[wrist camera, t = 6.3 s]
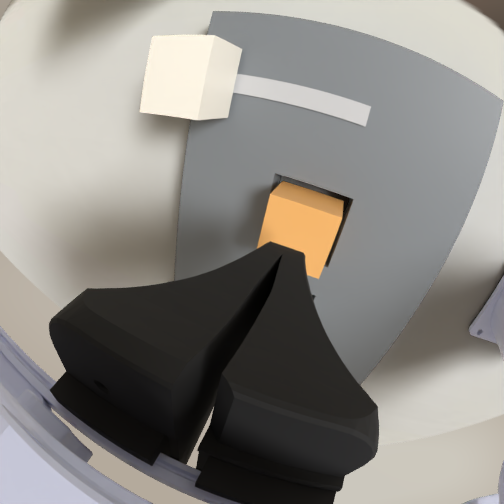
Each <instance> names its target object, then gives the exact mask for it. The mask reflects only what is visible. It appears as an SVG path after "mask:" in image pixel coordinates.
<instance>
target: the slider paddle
mask: <svg viewBox="0 0 504 504" xmlns="http://www.w3.org/2000/svg"><path fill="white" fill-rule="evenodd" d="M241 53H242V49H241V48H239V47H237V46H235V45H233V44H231V43H230V42H228V41H226V40H224V39H222V38H220V37H217V36H215V35H163V36H152V41H151V46H150V51H149V56H148V61H147V66H146V72H145V78H144V84H143V91H142V97H141V105H140V112H141V113H150V114H158V115H166V116H173V117H180V118H186V119H192V120H207V119H219V118H228V115H229V110H230V105H231V100H232V95H233V90H234V85H235V80H236V76H237V71H238V67H239V62H240V58H241Z"/></svg>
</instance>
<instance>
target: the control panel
mask: <svg viewBox="0 0 504 504" xmlns="http://www.w3.org/2000/svg"><path fill="white" fill-rule="evenodd" d="M207 35H215V36H217V37H220V38H222V39H224V40H226V41H228V42H230V43H231V44H233V45H235V46H237V47H239V48H241V49H242V53H241V58H240V62H239V67H238V71H237V76H236V80H235V85H234V90H233V95H232V100H231V105H230V110H229V115H228V118H219V119H207V120H192V119H191V120H190V126H189V133H188V140H187V147H186V154H185V162H184V170H183V178H182V187H181V197H180V207H179V218H178V230H177V243H176V259H175V278H174V281H177V280H181V279H186V278H190V277H194V276H197V275H200V274H203V273H207V272H209V271H212V270H215V269H217V268H220V267H222V266H224V265H226V264H229V263H231V262H233V261H235V260H237V259H239V258H241V257H243V256H245V255H247V254H249V253H250V252H252V251H254V250H256V249H257V246H258V242H259V237H260V233H261V229H262V225H263V221H264V217H265V213H266V209H267V205H268V201H269V196H270V194H271V193H272V192H273V190H274V189H275V188H276V187H277V186H278V185H279V183H280V179H281V175H282V176H286V177H289V178H292V179H295V180H299V181H302V182H305V183H308V184H311V185H314V186H317V187H320V188H323V189H326V190H329V191H332V192H335V193H338V194H340V195H343V196H346V197H349V198H350V200H349V202H348V205H347V208H346V211H345V214H344V216H343V219H342V222H341V225H340V227H339V230H338V233H337V235H336V238H335V241H334V243H333V246H332V249H331V251H330V252H329V255H328V257H327V260H326V262H325V265H324V267H323V270H322V272H321V275H320V277H319V279H317V278H314V277H311V276H309V275H307V278H308V282H309V286H310V291H311V294H312V298H313V301H314V304H315V307H316V310H317V313H318V315H319V318H320V320H321V323H322V325H323V327H324V329H325V332H326V334H327V336H328V338H329V340H330V341H331V343H332V345H333V347H334V348H335V350H336V352H337V353H338V355H339V357H340V358H341V360H342V362H343V363H344V364H345V366H346V367H347V369H348V370H349V372H350V373H351V374H352V376H353V377H354V379H355V380H356V381H357V382H358V384H359V385H360V384H361V383H362V382H363V381H364V380H365V379H366V377H367V376H368V375H369V374H370V373H371V371H372V370H373V369H374V368H375V366H376V365H377V364H378V363H379V361H380V360H381V359H382V358H383V356H384V355H385V354H386V352H387V351H388V350H389V348H390V347H391V346H392V344H393V343H394V342H395V340H396V339H397V338H398V336H399V335H400V333H401V332H402V331H403V329H404V328H405V326H406V325H407V323H408V322H409V320H410V319H411V317H412V316H413V314H414V313H415V311H416V310H417V308H418V307H419V305H420V304H421V302H422V301H423V299H424V297H425V296H426V294H427V292H428V291H429V289H430V287H431V286H432V284H433V282H434V281H435V279H436V277H437V275H438V274H439V272H440V270H441V268H442V266H443V265H444V263H445V261H446V259H447V257H448V255H449V253H450V251H451V249H452V247H453V245H454V243H455V241H456V239H457V237H458V235H459V233H460V231H461V229H462V227H463V225H464V222H465V220H466V218H467V216H468V213H469V211H470V209H471V206H472V204H473V201H474V199H475V196H476V194H477V191H478V189H479V186H480V183H481V180H482V178H483V175H484V172H485V169H486V166H487V163H488V160H489V157H490V153H491V150H492V147H493V143H494V140H495V136H496V132H497V128H498V124H499V120H500V116H501V111H502V106H503V100H501V99H500V98H498V97H497V96H495V95H494V94H493V93H491V92H489V91H488V90H486V89H485V88H483V87H482V86H480V85H478V84H477V83H475V82H473V81H472V80H470V79H468V78H467V77H465V76H463V75H461V74H460V73H458V72H456V71H454V70H452V69H450V68H448V67H446V66H444V65H442V64H440V63H438V62H436V61H434V60H432V59H430V58H428V57H426V56H423V55H421V54H419V53H417V52H414V51H412V50H409V49H407V48H405V47H402V46H399V45H397V44H394V43H391V42H389V41H386V40H383V39H380V38H377V37H374V36H371V35H368V34H365V33H361V32H358V31H354V30H351V29H347V28H343V27H339V26H335V25H331V24H326V23H322V22H317V21H312V20H306V19H301V18H294V17H288V16H280V15H272V14H262V13H250V12H230V11H213V13H212V17H211V21H210V25H209V29H208V33H207Z"/></svg>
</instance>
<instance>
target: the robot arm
mask: <svg viewBox="0 0 504 504" xmlns="http://www.w3.org/2000/svg"><path fill="white" fill-rule="evenodd" d="M305 257H306V256H305V254H304V253H303V252H300V251H297V250H294V249H292V248H289V247H286V246H283V245H280V244H277V243H274V242H271V241H270V242H268V243H266V244H264V245H262V246H261V247H259V248H257V249H256V250H254V251H252V252H250V253H249V254H247V255H245V256H243V257H241V258H239V259H237V260H235V261H233V262H231V263H229V264H226V265H224V266H222V267H220V268H217V269H215V270H212V271H209V272H207V273H203V274H200V275H197V276H194V277H190V278H186V279H181V280H177V281H172V282H168V283H163V284H157V285H150V286H141V287H131V288H105V289H86V290H85V291H84V292H82V293H81V294H80V295H79V296H77V297H76V298H75V299H74V300H73V301H72V302H70V303H69V304H68V305H67V306H66V307H64V308H63V309H62V310H61V311H60V312H59V313H58V314H56V315H55V316H54V317H53V318H52V319H51V321H50V323H49V331H50V336H51V339H52V342H53V344H54V347H55V349H56V351H57V353H58V355H59V357H60V359H61V361H62V363H63V365H64V367H65V369H66V372H65V373H64V375H63V376H62V377H61V378H60V379H59V380H58V381H57V382H56V381H54V380H53V379H52V378H51V377H50V376H49V375H47V374H46V372H44V371H43V370H42V369H41V368H40V367H39V366H38V365H37V364H36V363H35V362H34V361H33V360H32V359H31V358H30V357H29V356H27V355H26V353H25V352H24V351H23V350H22V349H21V348H20V347H19V346H18V345H17V344H16V343H15V342H14V341H13V340H12V339H11V338H10V336H9V335H8V334H7V333H6V332H5V331H4V330H3V328H1V326H0V504H153V503H151V502H149V501H147V500H145V499H143V498H141V497H140V496H138V495H136V494H134V493H132V492H131V491H129V490H127V489H125V488H124V487H122V486H121V485H119V484H117V483H116V482H114V481H112V480H111V479H110V478H108V477H106V476H105V475H103V474H102V473H100V472H99V471H97V470H96V469H95V468H93V467H92V466H90V465H89V464H88V463H87V462H88V460H89V459H90V458H91V456H92V455H93V454H92V452H91V451H90V450H89V449H88V448H87V447H86V446H84V445H83V444H82V443H81V442H80V441H79V440H78V439H77V437H76V436H75V435H74V434H73V433H72V432H71V430H70V429H69V428H68V427H67V426H66V425H65V424H64V423H63V422H62V421H61V420H60V419H59V418H58V417H57V416H56V415H54V414H53V413H52V411H51V408H52V409H53V410H54V411H56V412H57V413H58V414H59V415H60V416H61V417H63V418H64V419H65V420H66V421H68V422H69V423H70V424H71V425H72V426H74V427H75V428H76V429H77V430H79V431H80V432H81V433H83V434H84V435H85V436H87V437H88V438H89V439H91V440H92V441H94V442H95V443H96V444H98V445H99V446H101V447H102V448H104V449H105V450H107V451H108V452H110V453H111V454H113V455H114V456H116V457H117V458H119V459H121V460H122V461H124V462H125V463H127V464H129V465H130V466H132V467H134V468H135V469H137V470H139V471H141V472H143V473H144V474H146V475H148V476H150V477H152V478H154V479H155V480H157V481H159V482H161V483H163V484H165V485H167V486H170V487H172V488H174V489H176V490H178V491H180V492H182V493H185V494H187V495H189V496H192V497H194V498H197V499H199V500H202V501H204V502H207V503H209V504H333V502H334V497H335V494H336V491H337V492H338V491H340V490H341V489H342V486H343V481H344V476H345V475H347V474H349V473H351V472H353V471H354V470H356V469H358V468H360V467H362V466H363V465H365V464H366V463H368V462H369V461H370V460H371V459H373V458H374V457H375V455H376V452H377V449H378V439H379V420H378V407H377V405H376V404H375V403H374V401H373V400H372V399H371V398H370V397H369V395H368V394H367V393H366V392H365V391H364V390H363V388H362V387H361V386H360V385H359V384H358V382H357V381H356V380H355V379H354V377H353V376H352V374H351V373H350V372H349V370H348V369H347V367H346V366H345V364H344V363H343V362H342V360H341V358H340V357H339V355H338V353H337V352H336V350H335V348H334V347H333V345H332V343H331V341H330V340H329V338H328V336H327V334H326V332H325V329H324V327H323V325H322V323H321V320H320V318H319V315H318V313H317V310H316V307H315V304H314V301H313V298H312V294H311V291H310V286H309V282H308V278H307V272H306V264H305ZM479 330H480V331H479ZM469 332H470V335H472V336H475V337H478V338H481V339H484V340H487V341H490V342H493V343H496V344H498V347H499V349H500V352H501V355H502V357H503V360H504V275H503V277H502V279H501V280H500V282H499V284H498V285H497V287H496V289H495V290H494V292H493V293H492V295H491V297H490V298H489V300H488V301H487V303H486V304H485V306H484V307H483V309H482V310H481V312H480V313H479V314H478V316H477V317H476V319H475V320H474V321H473V323H472V324H471V325H470V327H469ZM213 407H214V410H213V414H212V419H211V423H210V426H209V428H208V430H207V432H206V433H205V436H204V437H203V439H202V441H201V443H200V445H199V447H198V451H199V454H198V461H197V466H196V469H195V468H192V467H190V466H188V465H186V464H187V462H188V459H189V458H190V456H191V453H192V451H193V449H194V447H195V445H196V443H197V441H198V438H199V436H200V434H201V432H202V430H203V428H204V426H205V424H206V422H207V420H208V418H209V416H210V413H211V411H212V409H213ZM463 504H504V461H503V464H502V468H501V472H500V477H499V483H498V494H493V495H489V496H484V497H479V498H476V499H473V500H470V501H467V502H465V503H463Z"/></svg>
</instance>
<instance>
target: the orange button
mask: <svg viewBox="0 0 504 504" xmlns="http://www.w3.org/2000/svg"><path fill="white" fill-rule="evenodd" d="M343 202H344V201H342V200H339V199H336V198H334V197H331V196H328V195H325V194H322V193H319V192H316V191H313V190H310V189H307V188H304V187H301V186H298V185H294V184H291V183H288V182H285V181H282V182H281V183H280V184H279V185H278V186H277V187H276V188H275V189H274V190H273V192H272V193H271V194H270V196H269V201H268V205H267V209H266V213H265V217H264V221H263V225H262V229H261V233H260V237H259V242H258V246H257V248H259V247H261V246H262V245H264V244H266V243H268V242H270V241H271V242H274V243H277V244H280V245H283V246H286V247H289V248H292V249H294V250H297V251H300V252H303V253H304V254H305V256H306V257H305V264H306V272H307V275H309V276H311V277H314V278H317V279H319V277H320V275H321V272H322V270H323V267H324V265H325V262H326V260H327V257H328V255H329V252H330V250H331V247H332V244H333V242H334V239H335V237H336V234H337V231H338V229H339V226H340V223H341V220H342V216H343Z"/></svg>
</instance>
